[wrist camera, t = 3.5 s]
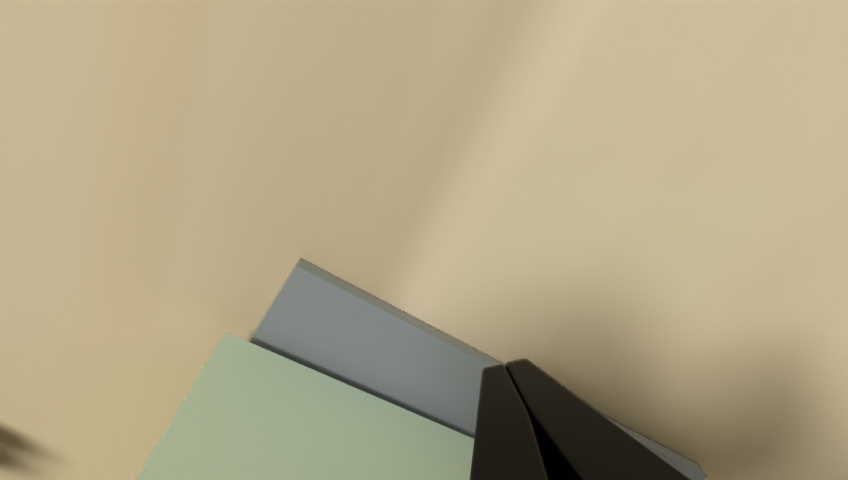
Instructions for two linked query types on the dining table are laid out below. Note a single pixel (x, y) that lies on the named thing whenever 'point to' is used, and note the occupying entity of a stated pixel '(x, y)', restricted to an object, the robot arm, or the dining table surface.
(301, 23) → the dining table surface
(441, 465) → the swing panel
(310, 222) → the dining table surface
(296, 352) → the card
